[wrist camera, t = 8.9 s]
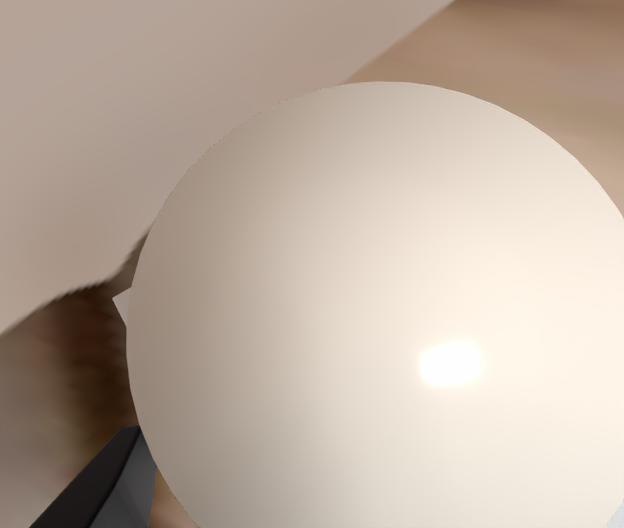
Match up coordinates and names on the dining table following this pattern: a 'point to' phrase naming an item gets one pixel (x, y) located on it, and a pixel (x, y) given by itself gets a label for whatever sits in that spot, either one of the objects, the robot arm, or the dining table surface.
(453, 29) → the dining table surface
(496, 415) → the blue cylindrical canister
